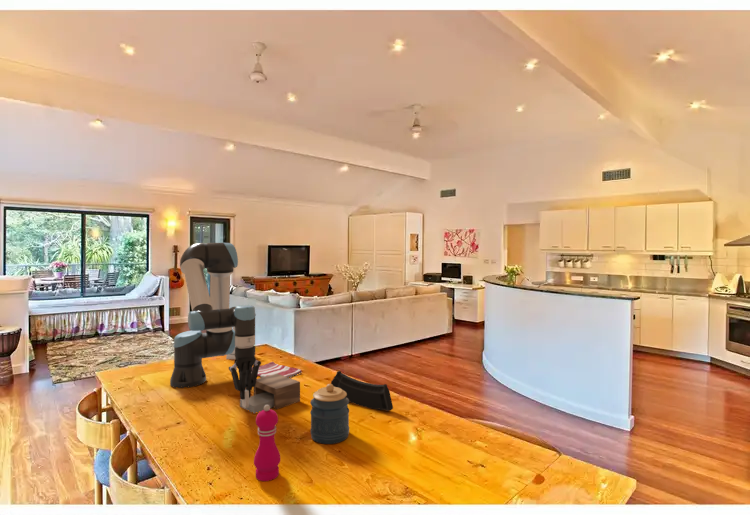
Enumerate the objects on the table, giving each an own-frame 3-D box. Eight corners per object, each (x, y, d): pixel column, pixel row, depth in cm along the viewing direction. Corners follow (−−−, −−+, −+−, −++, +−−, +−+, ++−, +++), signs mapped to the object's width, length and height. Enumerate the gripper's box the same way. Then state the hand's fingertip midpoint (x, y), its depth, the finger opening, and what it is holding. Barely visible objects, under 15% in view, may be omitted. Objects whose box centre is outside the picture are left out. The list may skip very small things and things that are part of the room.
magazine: (398, 389, 162) (341, 355, 179) (393, 392, 159) (336, 356, 176) (387, 428, 166) (333, 391, 182) (383, 431, 163) (327, 393, 180)
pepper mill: (256, 468, 122) (256, 400, 122) (282, 467, 123) (281, 399, 122) (251, 483, 115) (250, 410, 114) (278, 481, 116) (278, 409, 115)
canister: (318, 448, 135) (318, 393, 134) (305, 432, 146) (305, 381, 145) (355, 439, 141) (355, 386, 140) (340, 424, 152) (340, 375, 151)
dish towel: (271, 365, 225) (271, 360, 224) (303, 374, 211) (303, 368, 210) (245, 373, 211) (245, 368, 211) (276, 383, 197) (276, 377, 197)
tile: (240, 407, 168) (239, 399, 168) (278, 394, 182) (278, 387, 181) (254, 414, 161) (254, 406, 161) (292, 400, 175) (292, 393, 175)
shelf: (253, 399, 176) (253, 379, 176) (277, 391, 185) (276, 373, 184) (276, 409, 165) (276, 389, 165) (300, 401, 174) (300, 381, 174)
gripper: (234, 350, 156) (235, 414, 157) (265, 344, 166) (265, 404, 166) (224, 347, 161) (224, 408, 162) (254, 341, 171) (254, 399, 171)
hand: (245, 406), depth 164 cm, fingers closed
